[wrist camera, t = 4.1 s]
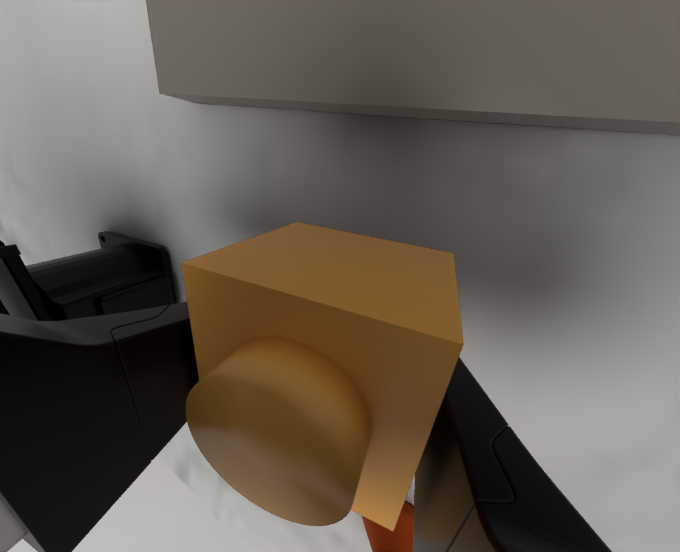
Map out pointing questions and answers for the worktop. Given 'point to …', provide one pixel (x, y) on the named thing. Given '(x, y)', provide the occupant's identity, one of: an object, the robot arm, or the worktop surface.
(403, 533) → the toy drill
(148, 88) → the worktop surface
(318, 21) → the grey peg board
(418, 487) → the robot arm
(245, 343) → the orange knobbed cube
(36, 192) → the worktop surface
